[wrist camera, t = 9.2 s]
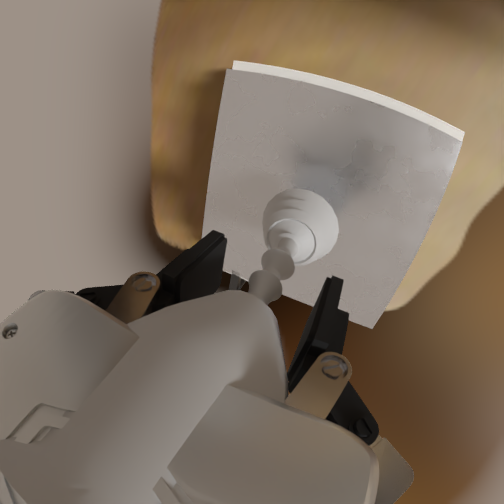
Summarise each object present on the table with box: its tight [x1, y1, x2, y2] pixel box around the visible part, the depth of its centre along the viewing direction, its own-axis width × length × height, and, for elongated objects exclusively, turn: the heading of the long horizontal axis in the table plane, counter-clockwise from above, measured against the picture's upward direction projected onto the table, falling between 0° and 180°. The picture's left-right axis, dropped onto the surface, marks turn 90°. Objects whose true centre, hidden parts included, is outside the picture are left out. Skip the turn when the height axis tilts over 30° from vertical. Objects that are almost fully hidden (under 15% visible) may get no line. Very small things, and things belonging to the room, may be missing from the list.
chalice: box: [0, 188, 339, 504], centre depth 11 cm, size 7×7×18 cm
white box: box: [202, 69, 462, 329], centre depth 24 cm, size 18×21×6 cm
